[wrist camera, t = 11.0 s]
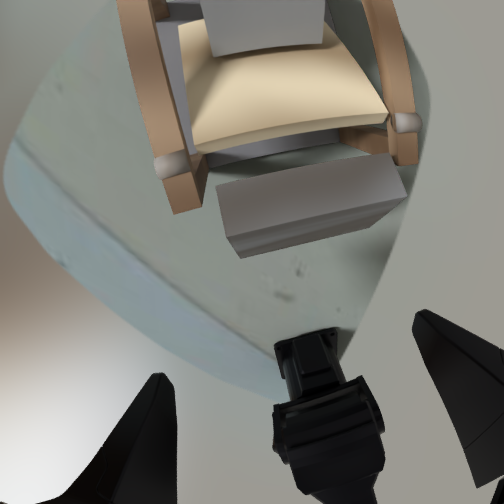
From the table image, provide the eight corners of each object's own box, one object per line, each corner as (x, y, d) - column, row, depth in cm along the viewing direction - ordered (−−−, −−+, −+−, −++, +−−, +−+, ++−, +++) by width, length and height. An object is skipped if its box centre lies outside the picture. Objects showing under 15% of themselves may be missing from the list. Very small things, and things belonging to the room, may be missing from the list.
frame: (352, 138, 17) (424, 166, 10) (191, 171, 17) (171, 219, 10) (318, -15, 11) (371, -64, 4) (150, 11, 11) (107, -38, 4)
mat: (352, 138, 17) (355, 139, 17) (191, 171, 17) (191, 173, 17) (318, -15, 11) (320, -18, 11) (150, 11, 11) (148, 8, 11)
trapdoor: (375, 226, 14) (424, 187, 9) (232, 260, 14) (210, 234, 9) (304, 64, 17) (310, 5, 11) (197, 83, 17) (177, 25, 11)
